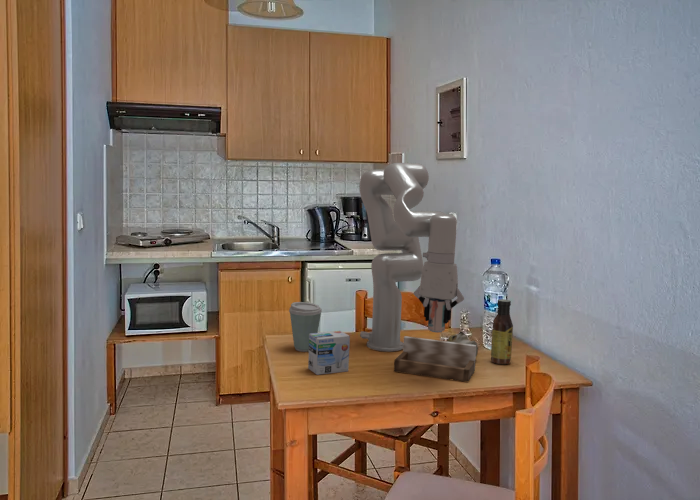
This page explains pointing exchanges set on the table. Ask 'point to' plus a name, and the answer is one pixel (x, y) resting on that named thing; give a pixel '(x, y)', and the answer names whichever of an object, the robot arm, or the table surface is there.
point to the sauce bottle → (502, 334)
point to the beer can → (436, 315)
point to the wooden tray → (436, 359)
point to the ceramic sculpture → (462, 340)
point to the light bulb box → (328, 352)
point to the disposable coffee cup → (304, 323)
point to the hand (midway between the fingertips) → (437, 320)
